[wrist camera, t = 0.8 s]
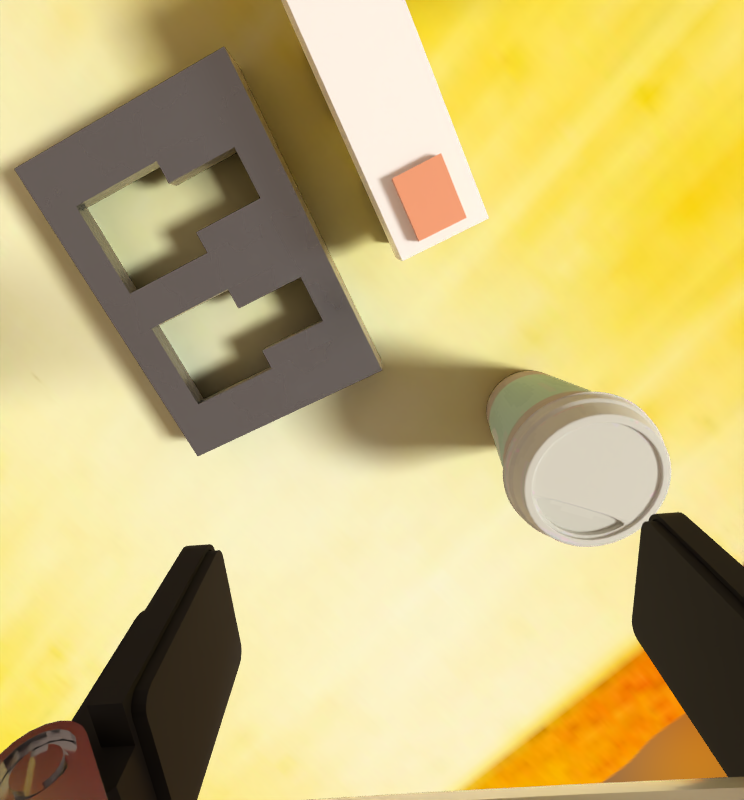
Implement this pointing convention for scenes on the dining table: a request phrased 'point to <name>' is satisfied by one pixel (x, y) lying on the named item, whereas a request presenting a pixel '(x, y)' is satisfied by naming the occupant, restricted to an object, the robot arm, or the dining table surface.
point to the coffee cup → (577, 459)
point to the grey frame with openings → (223, 240)
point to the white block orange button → (390, 118)
